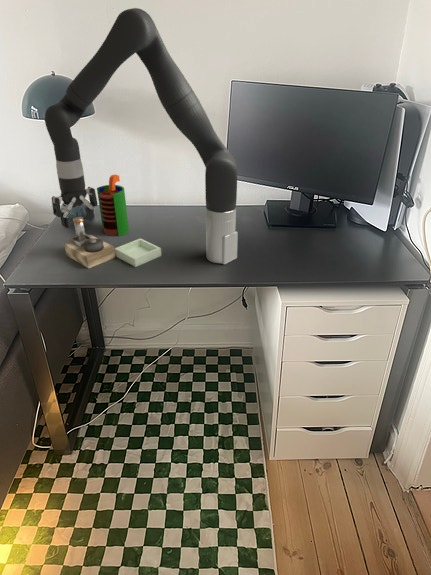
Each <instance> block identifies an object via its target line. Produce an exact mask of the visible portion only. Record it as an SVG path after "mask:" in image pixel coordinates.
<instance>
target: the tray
mask: <svg viewBox="0 0 431 575" xmlns="http://www.w3.org/2000/svg"><path fill="white" fill-rule="evenodd" d="M114 253H115V258H118V259H120V260H122V261H124V262H125V263H127V264H129V265H131V266H132V267H135V268H137V267H139V266H141V265H144V264H146V263H149V262H150V261H152V260H155V259H157V258H160V257H162V248H161V247H159V246H158V245H155V244H153V243H151V242H149V241H147V240H145V239H143V238H138V239H135V240H133V241H130V242H128V243H125V244H123V245H120V246H117V247H114Z"/></svg>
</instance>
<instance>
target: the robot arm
mask: <svg viewBox="0 0 431 575" xmlns="http://www.w3.org/2000/svg"><path fill="white" fill-rule="evenodd" d="M135 54H136V55H137V57H138V58H139V59H140V61H141V62H142V64H143V65H144V66H145V68H146V70H147V72H148V74H149V76H150V77H151V78H150V79H151V80H152V84H153V86H154V90H155V92H156V94H157V97H158V99H159V101H160V104H161V106H162V107H163V109H164V110H165V112H166V114H167V115H168V117H169V118H170V119H171V121H172V123H173V124H174V125H175V127H176V128H177V129H178V130H179V131H180V133H181V134H183V135H184V137H185V138H186V139H188V141H190V143H191V144H192V145H193V147H194V149H196V151H197V153H198V155H199V157H200V158H201V160H202V162H203V165H204V167H205V170H204V173H205V174H204V176H205V177H204V178H205V179H204V180H205V181H204V182H205V185H204V186H205V187H204V188H205V234H206V236H205V241H206V243H205V244H206V246H205V247H206V248H205V250H206V253H205V254H206V255H205V256H206V259H207V260H208V261H209V262H211V263H215V264H222V265H227V264H228V263H230V262H232V261H234V260H237V259H238V238H239V236H238V233H239V232H238V231H237V230H236V221H237V220H236V219H237V218H236V217H237V197H238V166H237V161H236V159H235V158H234V156H233V154H231V152H230V151H229V150H228V148H227V147H226V146H225V145H224V143H223V142H222V141H221V139H220V137H219V136H218V135H217V132H216V131H215V129H214V127H213V124H212V123H211V121H210V119H209V117H208V115H207V112H206V110H205V109H204V107H203V105H202V103H201V101H200V99H199V98H198V96H197V95H196V93H195V91H194V90H193V88H192V86H191V84H190V83H189V82H188V80H187V79H186V77H185V75H184V74H183V73H182V71H181V70H180V68H179V66H178V65H177V64H176V62H175V61H174V59H173V57H172V56H171V55H170V53H169V51H168V49H167V46H166V45H165V43H164V41H163V39H162V37H161V34H160V32H159V30H158V28H157V26H156V23H155V21H154V20H153V18H152V16H151V15H150V13H148V12H147V11H145V10H144V9H141V8H138V7H133V8H128V9H125V10H123V11H121V12H120V13H119V14H118V15H117V17H116V19H115V20H114V22H113V25H112V26H111V28H110V30H109V32H108V34H107V35H106V38H105V39H104V41H103V42H102V43H101V46H100V47H99V48H98V50H97V51H96V53H95V54H94V55H93V56H92V57H91V58H90V60H89V61H88V62H87V63H86V65H84V67H83V68H82V69H81V70H80V72H78V74H76V76H75V78H73V80H72V81H71V82H70V84H69V85H68V87H67V88H66V91H65V94H64V96H63V97H62V98H61V99H60V100H59V102H57V103H54V104H52V105H50V106H48V107H47V108H46V110H45V113H44V123H45V124H44V125H45V127H46V130H47V133H48V136H49V137H50V140H51V143H52V145H53V150H54V156H55V162H56V163H55V164H56V165H55V166H56V175H57V178H58V185H59V190H60V196H59V195H58V196H54V195H53V196H52V197H51V206H52V212H53V216H55V217H58V218H60V222H61V225H62V227H64V228H65V229H69V228H70V225H69V218H68V215H69V212H70V211H71V210H72V208H76V207H79V206H84V207H85V213H86V220H88V221H90V222H91V221H93V219H94V211H93V209H94V207H97V206H98V205H99V202H98V197H97V193H96V189H95V188H94V187H90V186H88V187H87V188H86V182H85V175H84V167H83V162H82V159H81V153H80V145H79V142H78V140H77V139H76V138H74V137H73V135H72V131H71V128H72V127H74V126H75V125H76V124H77V123H78V121H79V120H80V119H81V118H82V116H83V115H84V113H85V112H86V110H87V108H88V107H89V106H90V105H91V104H92V103H93V102H94V101H95V100H96V98H98V97H99V95H100V94H101V93H102V91H103V90H104V89H105V87H106V86H107V84H108V83H109V81H111V78H112V77H113V75H114V74H115V73H116V72H117V70H118V69H119V68H120V67H121V66H122V64H124V62H126V61H127V60H128V59H129V58H131V57H132V56H133V55H135ZM87 195H88V199H86V197H87ZM88 200H89V201H88Z"/></svg>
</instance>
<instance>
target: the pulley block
mask: <svg viewBox="0 0 431 575" xmlns="http://www.w3.org/2000/svg"><path fill="white" fill-rule="evenodd" d="M85 235H86V240H85V241H82V242H77V236H76V235H75V236H71V237H69V238H68V242H66V243H64V249H65V255H66V256H67V257H69V258H70V259H72V260H74V261H75V262H77V263H79V264H80V265H82V266H84V267H85V268H87V269H91V268H93V267H95V266H96V267H97V266H98V265H100V264H103V263H106V262H108V261H110V260H112V259H116V256H115V249H114V248H115V246H113V245H112V244H109V243H108V242H105V241H104V240H102V239H101V238H98V237H96V236H94V235H92V234H87V233H86V232H85Z"/></svg>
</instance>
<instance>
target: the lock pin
mask: <svg viewBox="0 0 431 575" xmlns="http://www.w3.org/2000/svg"><path fill="white" fill-rule="evenodd" d="M72 222H73V223H74V229H75V236H77V242H82V241H85V240H86V235H85V233H86V229H85V224H84V222H85V218H84V217H83V216H75V217H73V218H72Z"/></svg>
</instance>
